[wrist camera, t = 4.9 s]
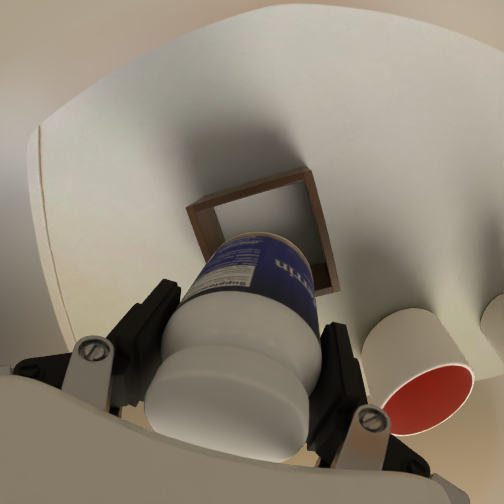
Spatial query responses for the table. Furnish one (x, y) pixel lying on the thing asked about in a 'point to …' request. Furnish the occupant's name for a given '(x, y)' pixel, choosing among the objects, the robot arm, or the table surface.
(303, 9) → the table surface
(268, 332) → the pill bottle
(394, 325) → the cup
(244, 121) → the table surface
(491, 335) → the mug
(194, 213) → the holder
